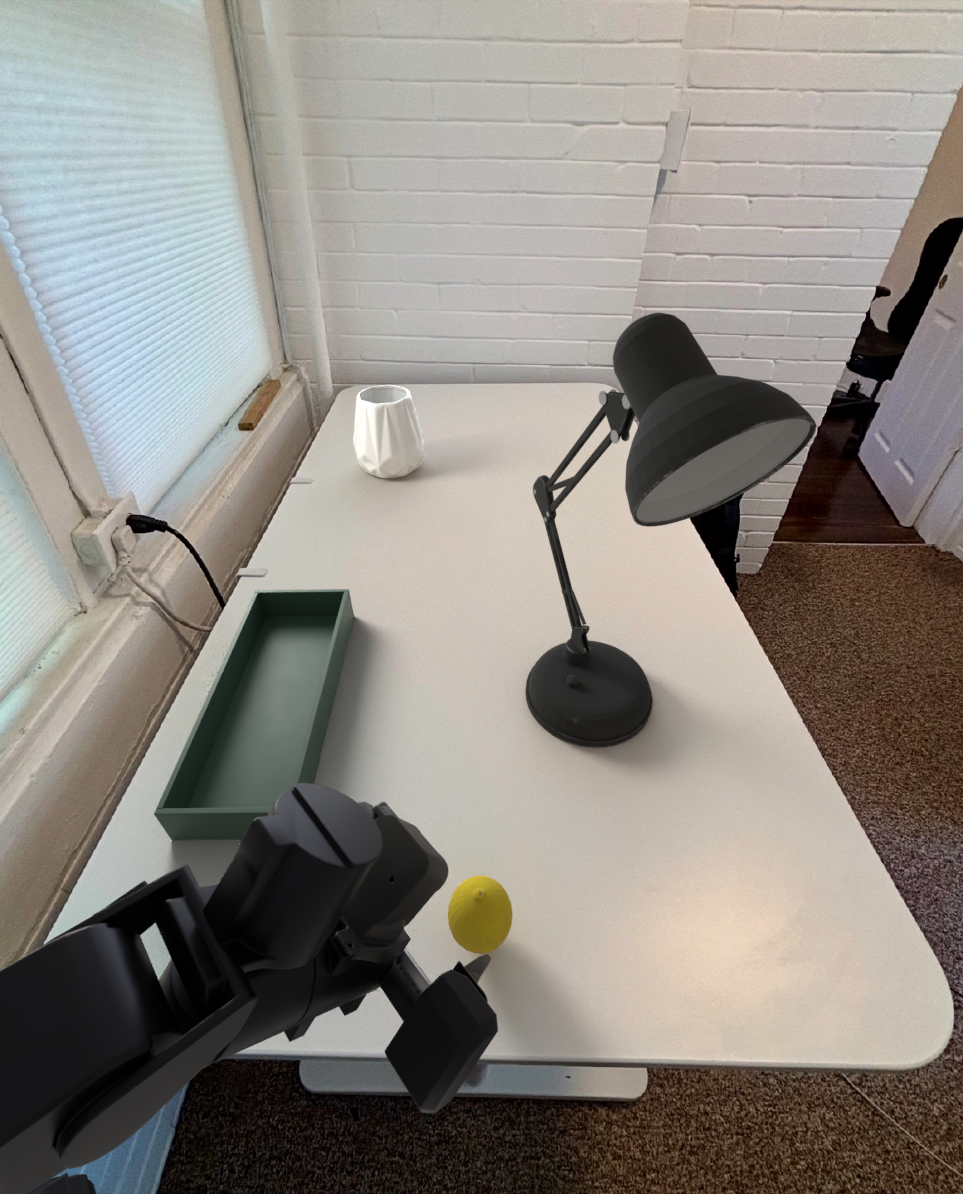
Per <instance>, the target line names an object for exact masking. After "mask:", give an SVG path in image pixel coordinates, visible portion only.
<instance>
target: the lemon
mask: <svg viewBox="0 0 963 1194" xmlns="http://www.w3.org/2000/svg"><path fill="white" fill-rule="evenodd" d="M447 922H448V929H449V930H450V933H451V935H452V937H453V939H454V940H455V941H456V943H457V944H458V945H459V946H460V947H461V948H463V949H464V950H465V951H468V952H470V953H473V954H480V955H481V954H489V953H491V952H493V951H494V950H497V949H498V948H499V947H500V946H501V945H502V944H503V943H504V942H505V940H506V939H507V937H508V936H509V934H510V931H511V928H512V922H513V907H512V901H511V900H510V896H509V894H508V892H507V891H506V889H505V888H504V886H503V885H502V884H501V883H500V882H499V881H497V880H496V879H494V878H492V877H490V876H487V875H474V876H470V877H468V878H466V879H464V880H463V881H461V882H460V883H459V885H457V886H456V887H455V890H454V891H453V893H452V895H451V897H450V900H449V904H448V910H447Z"/></svg>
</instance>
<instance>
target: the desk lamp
mask: <svg viewBox="0 0 963 1194" xmlns="http://www.w3.org/2000/svg"><path fill="white" fill-rule="evenodd" d="M612 364H613V372H614V375H615V377H616V378H617V381H618V382H619V385H620V388H621V389H622V391H623V392H621V391H620V392H619V391H617V390H616V389H615V388H614V389H610V390H609V392H606V391H605V390H601V391H600V392H599V393H598V401H599V404H600V405H601V407H600V409H599V410H598V411H597V413H596V414H595V416H593V418H592V419H591V421H590V422H589V423H588V425H587V426H586V427H585V430H584V431H583V432H582V433H581V435H580V436H579V437H578V439H577V440H576V442H575V443H574V444H573V446H572V447H571V449H569V451H568V452H567V454H566V455H565V457H564V458H563V459H562V461H561V462H560V464H558V466H557V468H556V469H555V470H554V472H553V473H552V475H551V476H548V475H545V474H543V475H540V476H538V477H537V478H536V480H535V481H534V483H533V485H532V495H533V497H534V500H535V503H536V505H537V506H538V510H539V512H540V515H541V517H542V520H543V523H544V527H545V531H546V534H547V539H548V542H549V546H550V550H551V554H552V557H553V561H554V565H555V570H556V573H557V577H558V581H559V585H560V589H561V593H562V597H563V600H564V604H565V608H566V612H567V616H568V620H569V624H570V627H571V634H570V638H569V639H568V640H567V641H566V642H562V643H559V644H557V645H555V646H552V647H551V648H549V649H548V650H547V651H545V652H544V653H543V654H542V655H541V656H540V657H539V658H538V659H537V661H536V662H535V664H534V665H533V666H532V668H531V669H530V671H529V673H528V676H527V678H526V682H525V701H526V704H527V708H528V710H529V712H530V714H531V715H532V717H533V718H534V719H535V721H536V722H537V723H538V724H539V726H541V727H542V728H543V729H544V730H545V731H547V732H548V733H549V734H551V735H552V736H554V737H556V738H558V739H560V740H561V741H564V742H567V743H569V744H571V745H575V746H580V747H586V748H606V747H607V748H608V747H611V746H612V747H613V746H617V745H620V744H624V743H625V742H627V741H630V740H631V739H633V738H634V737H636V736H637V735H639V733H640V732H641V731H643V729H644V728H645V726H646V725H647V723H648V721H649V719H650V717H651V713H652V709H653V700H654V699H653V692H652V688H651V686H650V682H649V679H648V677H647V675H646V674H645V671H644V670H643V668H642V666H641V665H640V664H639V663H638V662H637V661H636V660H635V659H634V658H633V657H632V656H631V655H629V654H628V653H627V652H625V651H623V650H622V649H620V648H618V647H615V646H613V645H611V644H608V643H605V642H601V641H596V640H589V639H588V636H587V634H588V633H589V632H590V631H589V630H590V626H589V625H587V622H586V619H585V617H584V615H583V614H584V613H583V612H582V609H581V606H580V604H579V602H578V599H577V596H576V593H575V591H574V590H573V586H572V583H571V579H570V574H569V571H568V567H567V563H566V560H565V554H564V551H563V547H562V543H561V540H560V535H559V532H558V528H557V525H556V521H555V520H556V518H557V509H558V508H559V507H560V506H561V504H562V503H563V502H564V501H565V499H567V497H568V496H570V493H572V491H573V490H574V489H575V488H576V487H577V485H578V484H579V483H580V482H581V481H582V479H584V477H585V476H586V475H587V473H589V471H590V470H591V469H592V467H593V466H594V465H595V464H596V463H597V461H599V459H600V458H601V457H602V456H603V454H604V453H605V452H606V451H607V450H608V449H609V448H610V446H611V445H612V444H618V443H619V442H620V440H621V441H623V442H628V441H629V440H630V430H631V428H632V426H633V423H634V420H635V417H636V419H637V422H638V426H637V429H636V431H635V434H634V435H633V439H632V441H631V445H630V448H629V452H628V456H627V460H626V464H625V481H624V482H625V484H624V485H625V486H624V489H625V494H626V498H627V503H628V507H629V512H630V515H631V516H632V519H633V521H634V523H636V524H637V525H638V526H641V527H648V528H649V527H651V528H652V527H661V526H667V525H671V524H674V523H678V522H681V521H685V520H689V519H691V518H694V517H696V516H698V515H701V514H703V513H706V512H708V511H711V510H712V509H716V508H717V507H720V506H721V505H724V504H726V503H728V502H730V501H732V500H734V499H736V498H737V497H740V496H741V495H743V494H744V493H746V492H748V491H750V490H752V489H753V488H755V487H757V486H758V485H759V484H761V483H762V482H763V483H764V481H766V480H767V479H769V478H770V477H771V476H773V475H774V474H776V473H777V472H778V471H779V470H782V468H784V467H785V466H786V465H788V464H789V463H790V462H791V461H793V459H795V458H796V457H797V456H798V455H799V454H800V453H801V452H802V451H803V450H804V449H805V448H806V446H808V444H809V442H810V441H811V440H812V439H813V437H814V435H815V433H816V429H817V423H816V420H815V419H814V418H813V416H812V415H811V413H809V411H807V410H806V409H805V407H803V406H802V405H801V404H800V403H799V402H798V401H797V400H796V399H795V398H794V397H792V396H791V395H790V394H788V393H786V392H785V391H783V390H781V389H778V388H777V387H775V386H772V385H770V384H768V383H767V382H765V381H764V382H763V381H760V380H755V379H751V378H747V377H741V376H736V375H724V374H718V372H717V371H716V369H715V368H714V366H713V365H712V362H710V360H709V358H708V357H707V355H706V354H705V352H704V350H703V349H702V347H701V346H700V344H699V342H698V341H697V339H696V338H695V336H694V334H693V332H692V331H691V330H690V328H689V326H688V325H687V324H686V323H685V322H684V321H683V320H682V319H680V318H679V317H677V316H676V315H675V314H672V313H671V314H669V313H664V312H653V313H650V314H647V315H644V316H640V317H639V318H638V319H636V320H634V321H633V322H631V323H630V324H629V325H628V326H627V327H626V328H625V329H624V330H623V332H621V334H620V335H619V337H618V339H617V340H616V343H615V346H614V350H613V354H612ZM605 418H606V420H607V422H608V426H609V429H610V431H608V434H607V435H606V436H605V437H604V438H603V440H602V441H601V442H600V443H599V445H598V446H597V447H596V449H594V450H593V452H592V453H591V455H590V456H589V457H588V458H587V460H586V461H585V462H584V463H583V464H582V465H581V467H580V468H579V469H578V471H577V472H576V473H575V474H574V475H573V476H571V477H569V478H566V479H564V480H561V481H558V480H559V478H560V477H561V476H562V474H563V473H564V472H565V470H566V469H567V468H568V466H569V465H570V464H571V462H572V461H573V460H574V458H575V457H576V456H577V455H578V454H579V452H580V451H581V449H582V448H583V447H584V445H585V444H586V443H587V441H588V440H589V439H590V438H591V436H592V435H593V434H594V432H595V431H596V430H597V428H598V427H599V426H600V425H601V423H602V422H603V420H604V419H605ZM557 481H558V482H557ZM559 489H562V490H561V492H559V494H558V495H557V496H556V497H555V496H554V492H555V491H557V490H559ZM554 497H555V498H554Z"/></svg>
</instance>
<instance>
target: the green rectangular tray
mask: <svg viewBox="0 0 963 1194" xmlns="http://www.w3.org/2000/svg"><path fill="white" fill-rule="evenodd" d="M350 592H351V591H350V589H349V588H325V589H324V588H321V589H319V588H316V589H315V588H314V589H255V590H254V592H253V595H252V597H251V599H250V601H249V603H248V605H247V608H246V610H245V612H244V614H243V616H242V619H241V620H240V623H239V625H238V627H237V630H236V632H235V634H234V636H233V638H232V640H231V643H230V645H229V647H228V649H227V652H226V654H225V656H224V658H223V661H222V662H221V665H220V667H219V669H218V671H217V674H216V676H215V678H214V681H212V685H211V687H210V689H209V691H208V694H207V696H206V698H205V700H204V702H203V704H202V706H201V709H200V712H199V714H198V716H197V718H196V720H195V722H194V725H193V726H192V729H191V731H190V733H189V735H188V738H187V740H186V742H185V744H184V747H183V749H182V751H181V753H180V755H179V757H178V759H177V762H176V763H175V766H174V769H173V771H172V773H171V775H170V777H169V780H168V782H167V784H166V785H165V788H164V791H163V792H162V795H161V797H160V799H159V801H158V804H157V806H156V809H155V811H154V812H153V816H155V818H156V820H157V821H158V823H159V824H160V826H161V827H162V828H163V830H164V831H165V833H166V834H167V836H168V837H169V838H170V840H171V841H193V840H194V841H195V840H196V841H197V840H198V841H203V840H204V841H206V840H241V839H242V837H243V835H244V834H245V832H246V830H247V829H248V827H249V825H250V824H251V822H252V821H253V820H254V819H256V818H257V817H263V816H267V815H268V813H269V811H270V810H271V808H272V806H273V805H274V803H275V801H276V800H277V798H278V796H279V795H280V794H281V793H282V792H284V791H285V790H287V789H289V788H292V787H294V786H295V784H297V783H312V784H315V781H316V776H317V773H318V768H319V765H320V764H319V763H320V760H321V756H322V752H323V747H324V743H325V739H326V735H327V730H328V726H329V722H330V717H331V713H332V710H333V705H334V701H335V696H336V693H337V689H338V685H339V680H340V677H341V676H340V675H341V672H342V668H343V664H344V659H345V655H346V651H347V647H348V642H349V638H350V634H351V630H352V625H353V621H354V617H355V613H354V608H353V604H352V603H353V602H352V598H351V593H350Z"/></svg>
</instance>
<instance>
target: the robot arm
mask: <svg viewBox="0 0 963 1194" xmlns="http://www.w3.org/2000/svg"><path fill="white" fill-rule="evenodd" d="M448 877H449V864H448V862H447V860H446V859H445V858H444V857H443V856H442V854H440V852H438V851H437V850H436V849H435V848H434V846H433V845H432V844H431V843H430V842H429V840H428V839H427V838H426V837H425V835H423V833H422V832H421V830H420V829H419V828H418V826H416V825H415V824H413V823H410V822H408V821H406V820H405V819H403V818H401V817H399V816H398V815H397V814H396V812H395V811H394V810H393V809H392V808H391V807H390V806H389V804H388V803H387V802H386V801H381V802H379V803H378V804H375V805H373V804H370V803H369V802H367V801H359V802H357V801H356V800H354V799H353V798H351V797H349V796H348V795H346V794H344V793H343V792H341V791H339V790H337V789H334V788H332V787H329V786H326V785H322V784H319V783H318V784H317V783H314V784H312V783H297V784H295V786H294V787H292V788H289V789H287V790H285V791H284V792H282V793H281V794H280V795H279V796H278V798H277V800H276V801H275V803H274V805H273V806H272V808H271V810H270V811H269V813H268V815H267V816H263V817H257V818H256V819H254V820H253V821H252V822H251V824H250V825H249V827H248V829H247V830H246V832H245V834H244V835H243V837H242V839H240V841H239V843H238V847H237V850H236V851H235V854H234V856H233V858H232V860H231V862H230V863H229V865H228V867H227V868H226V870H225V872H224V873H223V875H222V877H221V878H220V880H219V882H218V883H217V884H212V885H207V886H201V887H200V885H199V882H198V881H197V879H196V877H195V874H194V873H193V871H192V869H191V867H190V866H189V864H182V865H179V866H177V867H176V868H174V869H172V870H170V871H168V872H167V873H165V874H164V875H162V876H160V877H158V878H156V879H155V880H153V881H152V882H150V883H148V882H147V881H146V880H142V881H141V882H139V883H138V884H136V885H135V886H134V887H133V888H131V889H130V890H128V891H127V892H125V893H124V894H122V895H121V896H120V897H118V898H117V899H115V900H114V901H112V902H111V903H109V904H108V905H106V906H105V907H103V908H102V909H100V910H99V911H97V912H95V913H94V914H92V915H91V916H90V917H88V918H86V919H85V920H83V921H81V922H79V923H78V924H76V925H73V926H72V927H71V928H69V929H67V930H65V931H64V932H62V933H60V934H58V935H57V936H54V937H53V938H52V939H50V940H49V941H47V942H45V943H44V944H42V945H41V946H39V947H38V948H36V949H35V950H33V951H31V952H30V953H27V954H26V955H24V956H22V957H20V958H18V959H16V960H15V961H13V962H11V963H10V964H8V965H6V966H5V967H2V968H1V969H0V1194H97V1191H96V1186H95V1184H94V1183H93V1182H92V1181H91V1180H90V1179H89V1176H88V1174H86V1173H79V1174H78V1173H77V1174H71V1175H69V1173H68V1172H66V1173H63V1174H61V1173H62V1172H64V1171H66V1170H68V1169H69V1170H71V1169H77V1168H82V1167H84V1166H86V1165H88V1164H91V1163H93V1162H95V1161H98V1160H99V1159H100V1158H102V1157H104V1156H105V1155H107V1154H110V1152H112V1151H114V1150H115V1149H116V1148H118V1147H119V1146H121V1145H122V1144H123V1143H125V1142H126V1141H128V1140H129V1139H130V1138H132V1136H133V1135H135V1134H136V1133H138V1131H139V1130H140V1129H141V1128H143V1127H144V1126H145V1125H146V1124H147V1123H148V1122H149V1121H150V1120H151V1119H152V1118H153V1117H155V1115H156V1114H157V1113H158V1112H159V1111H160V1110H161V1109H163V1108H164V1106H166V1105H167V1104H169V1102H170V1101H171V1100H172V1099H173V1098H174V1097H175V1096H176V1095H177V1094H178V1093H179V1092H181V1090H182V1089H183V1088H184V1087H185V1086H186V1085H187V1084H188V1083H189V1082H191V1080H193V1078H195V1077H196V1075H198V1074H199V1073H200V1072H201V1071H202V1070H203V1069H205V1068H207V1067H209V1066H211V1065H213V1064H215V1063H217V1062H220V1061H222V1060H225V1059H227V1058H229V1057H231V1056H233V1055H236V1054H238V1053H240V1052H242V1051H245V1050H246V1049H248V1048H250V1047H253V1046H255V1045H257V1044H260V1043H262V1042H264V1041H267V1040H269V1039H271V1038H272V1037H275V1036H278V1035H279V1034H281V1033H284V1034H285V1036H286V1038H287V1041H288V1042H289V1043H291V1042H293V1041H296V1040H298V1039H299V1038H301V1037H304V1036H306V1035H305V1034H306V1033H307V1031H308V1030H309V1029H310V1027H311V1025H312V1024H313V1022H314V1020H315V1019H316V1018H317V1017H320V1016H322V1015H323V1014H326V1013H328V1012H330V1011H332V1010H334V1009H337V1008H339V1009H340V1011H341V1013H342V1015H343V1016H344V1017H345V1016H348V1015H350V1014H352V1013H354V1012H356V1011H357V1010H358V1009H359V1007H360V1006H361V1004H362V1002H363V1001H364V1000H365V998H366V996H367V995H368V994H370V993H372V992H374V991H376V990H379V988H380V989H381V990H382V991H383V993H384V995H385V996H386V998H387V999H388V1001H389V1002H390V1004H391V1005H392V1007H393V1008H394V1010H395V1011H396V1013H397V1014H398V1016H399V1017H400V1019H401V1020H402V1023H401V1025H400V1027H399V1028H398V1030H397V1031H396V1033H395V1034H394V1035H393V1037H392V1038H391V1041H390V1042H389V1043H388V1045H387V1046H386V1048H385V1050H384V1054H385V1056H386V1058H387V1060H388V1062H389V1063H390V1065H391V1067H392V1068H393V1069H394V1071H395V1073H396V1074H397V1076H398V1078H399V1079H400V1082H402V1085H404V1088H405V1089H406V1090H407V1092H408V1094H409V1096H410V1097H411V1098H412V1100H413V1101H414V1103H415V1105H416V1106H417V1108H418V1110H419V1111H420V1113H421V1114H436V1113H438V1112H439V1111H440V1110H441V1109H442V1108H443V1107H445V1106H446V1105H447V1104H448V1103H450V1102H451V1101H452V1100H453V1099H454V1097H455V1096H456V1095H457V1094H458V1092H459V1090H460V1088H461V1087H462V1085H463V1084H464V1082H465V1081H466V1080H467V1078H468V1077H469V1076H470V1073H471V1072H472V1071H473V1069H474V1068H475V1067H476V1065H477V1063H478V1062H479V1060H480V1059H481V1057H482V1056H483V1054H484V1053H485V1051H486V1050H487V1048H488V1047H489V1045H490V1044H491V1042H492V1041H493V1039H494V1038H495V1036H496V1035H497V1033H498V1032H499V1026H498V1016H497V1013H496V1011H494V1009H493V1008H492V1007H491V1005H490V1004H489V1000H488V996H487V994H486V992H485V991H484V990H483V988H482V987H481V986H480V985H479V981H480V980H481V977H482V976H483V974H484V973H485V971H486V970H487V968H488V966H489V965H490V963H491V961H492V957H491V956H490V954H489V953H485V954H484V955H480V956H478V957H476V958H474V959H473V960H472V961H470V962H468V963H467V964H465V965H464V964H463V963H462V962H461V960H458V961H457V963H456V964H455V966H454V967H453V969H449V970H446V971H445V972H443V973H441V974H440V975H439V976H438V977H437V978H435V979H434V980H433V981H431V980H430V979H429V977H428V976H427V974H426V973H425V972H424V970H423V969H422V968H421V967H420V965H419V963H418V962H417V961H416V959H415V958H414V957H413V955H412V954H411V953H410V951H409V950H408V949H407V946H408V944H409V943H410V941H411V940H412V938H411V937H410V935H409V934H408V933H407V931H406V930H405V927H406V926H408V925H409V924H410V923H411V922H412V921H413V920H414V919H415V917H416V916H417V915H418V914H419V912H421V910H422V909H423V908H424V907H425V906H426V905H427V903H428V902H429V901H430V900H431V898H433V896H434V895H435V894H436V893H437V892H438V891H439V890H440V889H441V888H442V887H443V886H444V885H445V884H446V882H447V879H448ZM153 925H156V927H157V929H158V931H159V934H160V936H161V938H162V941H163V943H164V945H165V947H166V951H167V952H168V954H169V957H170V960H169V962H168V963H167V965H166V967H165V968H164V970H163V972H162V974H161V975H160V977H158V976H157V973H156V969H155V968H154V966H153V964H152V960H151V959H150V955H149V953H148V951H147V948H146V946H145V943H144V942H143V940H142V936H141V935H143V934H144V933H145V932H147V931H148V929H150V928H151V927H153ZM60 1174H61V1175H60ZM57 1175H59V1176H57Z"/></svg>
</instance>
